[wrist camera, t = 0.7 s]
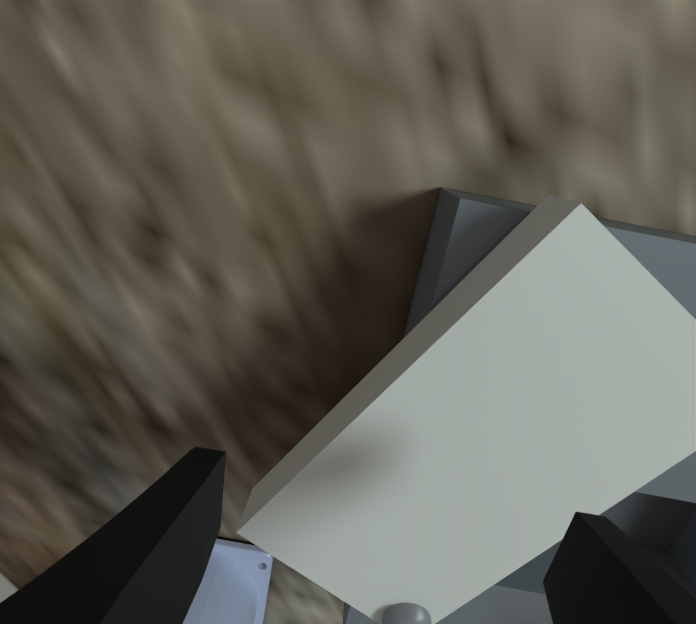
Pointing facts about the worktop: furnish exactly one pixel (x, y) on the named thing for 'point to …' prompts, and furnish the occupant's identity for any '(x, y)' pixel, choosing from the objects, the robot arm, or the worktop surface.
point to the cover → (489, 426)
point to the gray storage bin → (636, 509)
